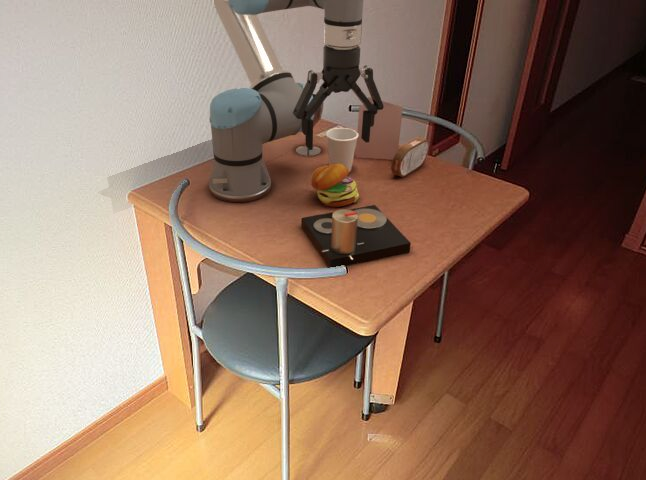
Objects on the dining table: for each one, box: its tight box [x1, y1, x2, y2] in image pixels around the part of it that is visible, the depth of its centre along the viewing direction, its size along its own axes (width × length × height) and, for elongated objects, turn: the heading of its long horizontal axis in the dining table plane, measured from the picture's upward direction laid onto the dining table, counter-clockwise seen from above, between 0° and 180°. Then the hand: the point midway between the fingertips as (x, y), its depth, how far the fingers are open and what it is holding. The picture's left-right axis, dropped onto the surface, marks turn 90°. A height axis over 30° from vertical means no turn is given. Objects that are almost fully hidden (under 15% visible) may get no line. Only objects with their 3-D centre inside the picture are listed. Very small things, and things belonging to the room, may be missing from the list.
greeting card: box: [355, 96, 404, 161], centre depth 150 cm, size 11×7×15 cm, turn 49°
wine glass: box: [295, 93, 325, 157], centre depth 153 cm, size 8×8×15 cm
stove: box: [300, 204, 411, 268], centre depth 118 cm, size 19×19×3 cm
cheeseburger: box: [310, 163, 360, 208], centre depth 132 cm, size 10×11×10 cm
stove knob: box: [331, 208, 358, 254], centre depth 110 cm, size 5×5×8 cm
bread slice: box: [390, 135, 430, 178], centre depth 146 cm, size 15×3×8 cm, turn 141°
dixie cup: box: [325, 127, 358, 173], centre depth 145 cm, size 8×8×10 cm
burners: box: [314, 209, 388, 234], centre depth 120 cm, size 8×17×1 cm, turn 111°
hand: (337, 144), depth 124 cm, fingers open, 13 cm apart
